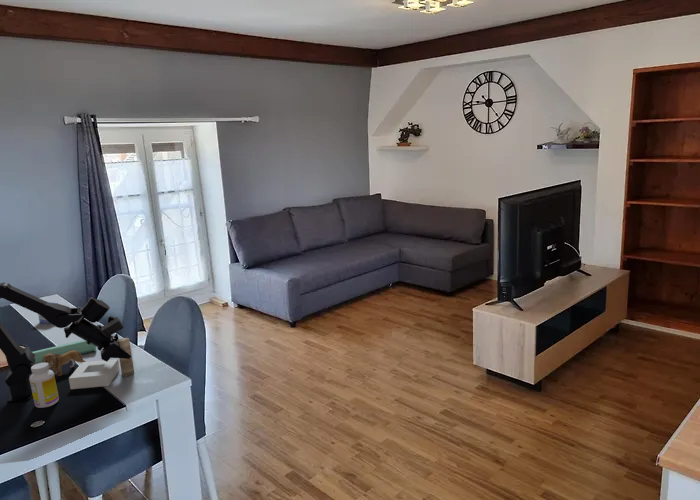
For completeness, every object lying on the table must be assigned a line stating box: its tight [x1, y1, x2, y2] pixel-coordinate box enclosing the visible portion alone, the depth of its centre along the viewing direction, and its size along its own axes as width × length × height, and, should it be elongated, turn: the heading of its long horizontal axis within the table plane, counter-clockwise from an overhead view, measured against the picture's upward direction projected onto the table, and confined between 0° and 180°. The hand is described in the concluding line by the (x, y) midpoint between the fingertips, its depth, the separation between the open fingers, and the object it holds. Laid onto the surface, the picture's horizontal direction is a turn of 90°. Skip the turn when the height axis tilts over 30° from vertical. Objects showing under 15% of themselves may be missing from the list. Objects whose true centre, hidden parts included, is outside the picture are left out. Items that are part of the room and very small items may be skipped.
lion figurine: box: [42, 350, 87, 377], centre depth 181 cm, size 15×5×9 cm, turn 152°
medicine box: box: [37, 302, 59, 325], centre depth 231 cm, size 8×4×9 cm, turn 73°
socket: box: [68, 358, 121, 390], centre depth 175 cm, size 12×12×4 cm
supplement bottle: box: [29, 362, 60, 409], centre depth 159 cm, size 7×7×13 cm
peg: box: [117, 337, 135, 377], centre depth 177 cm, size 4×4×12 cm
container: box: [31, 339, 97, 365], centre depth 193 cm, size 6×6×25 cm
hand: (129, 355), depth 177 cm, fingers closed on peg, 4 cm apart
